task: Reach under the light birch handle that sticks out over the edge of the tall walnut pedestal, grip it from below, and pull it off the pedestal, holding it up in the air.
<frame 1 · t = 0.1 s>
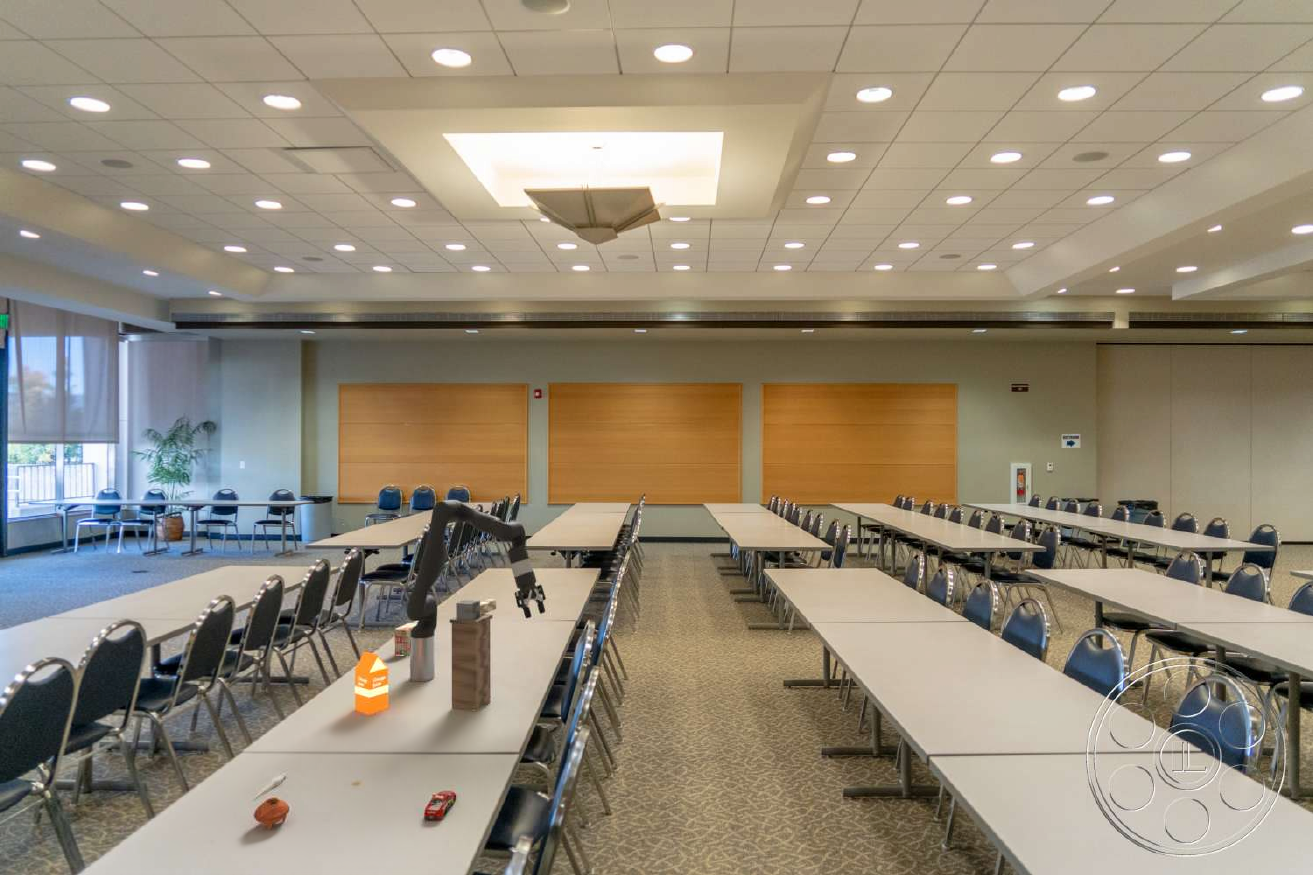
hand: (535, 615, 283), 31 cm above the table, tool tilted 20°, fingers open, 8 cm apart
pedestal: (471, 705, 277), on the table
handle: (471, 617, 277), point 32 cm above the table, touching pedestal
orange juice: (371, 709, 273), on the table
pot: (271, 825, 191), on the table
race car: (440, 810, 199), on the table
white tapered stick: (270, 789, 211), on the table
red printed box: (413, 650, 351), on the table
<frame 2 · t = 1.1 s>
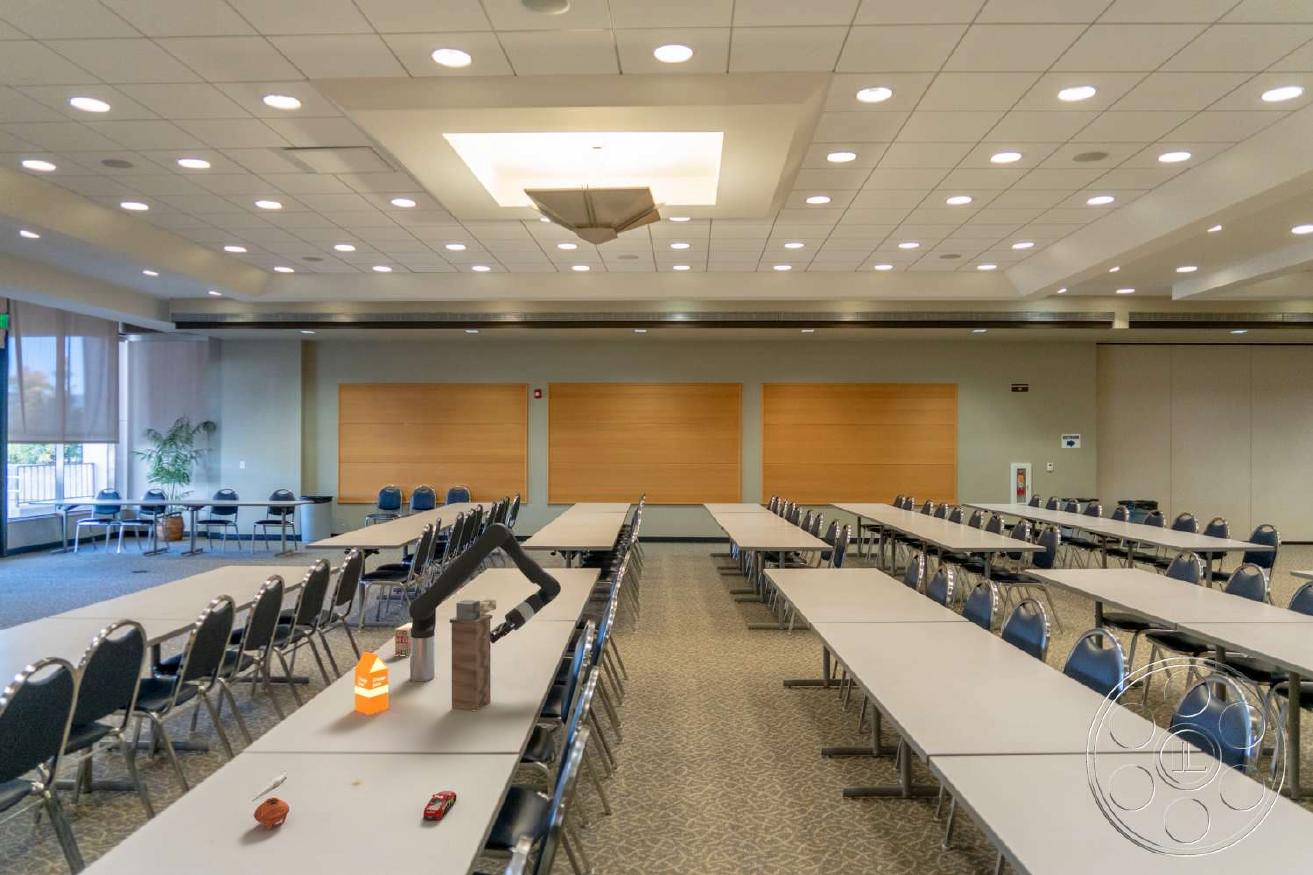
hand: (487, 642, 290), 19 cm above the table, tool tilted 60°, fingers open, 8 cm apart
nothing on the table moved.
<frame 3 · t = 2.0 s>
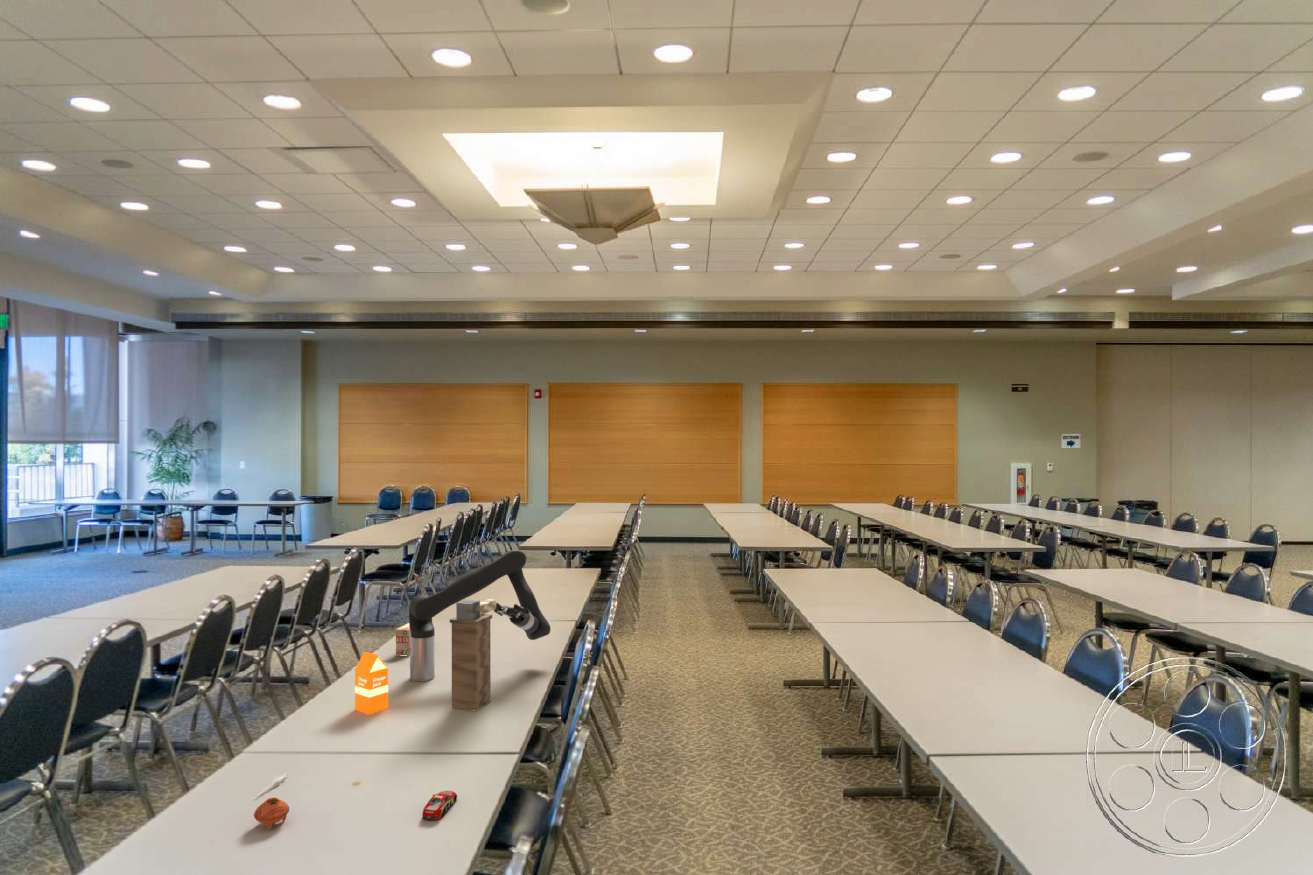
hand: (505, 605, 301), 31 cm above the table, tool pointing upward, fingers open, 8 cm apart
nothing on the table moved.
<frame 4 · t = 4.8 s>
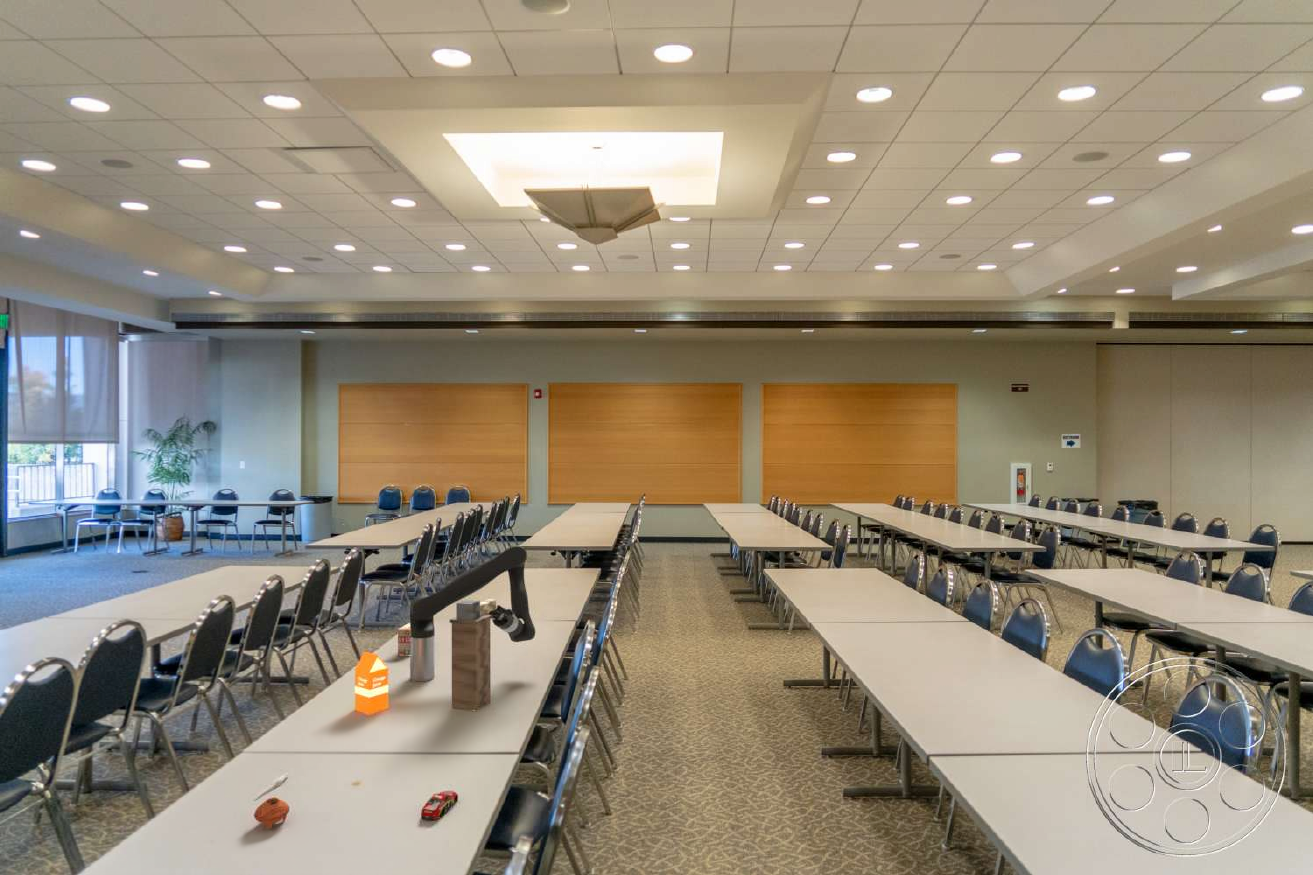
hand: (487, 606, 288), 33 cm above the table, tool pointing upward, fingers open, 8 cm apart
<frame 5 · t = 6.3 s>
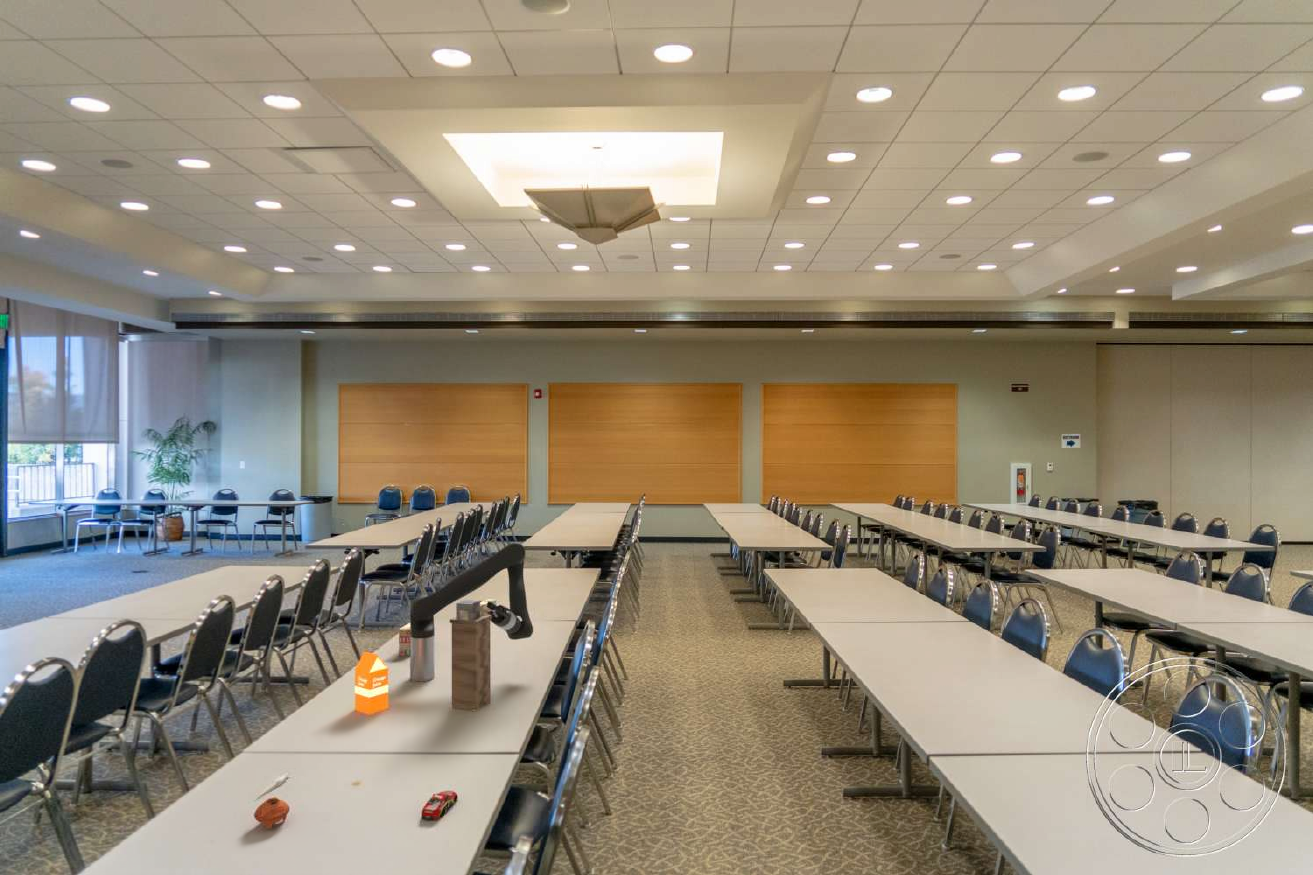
hand: (483, 603, 285), 35 cm above the table, tool pointing upward, fingers closed on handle, 3 cm apart
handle: (471, 617, 277), point 32 cm above the table, touching gripper
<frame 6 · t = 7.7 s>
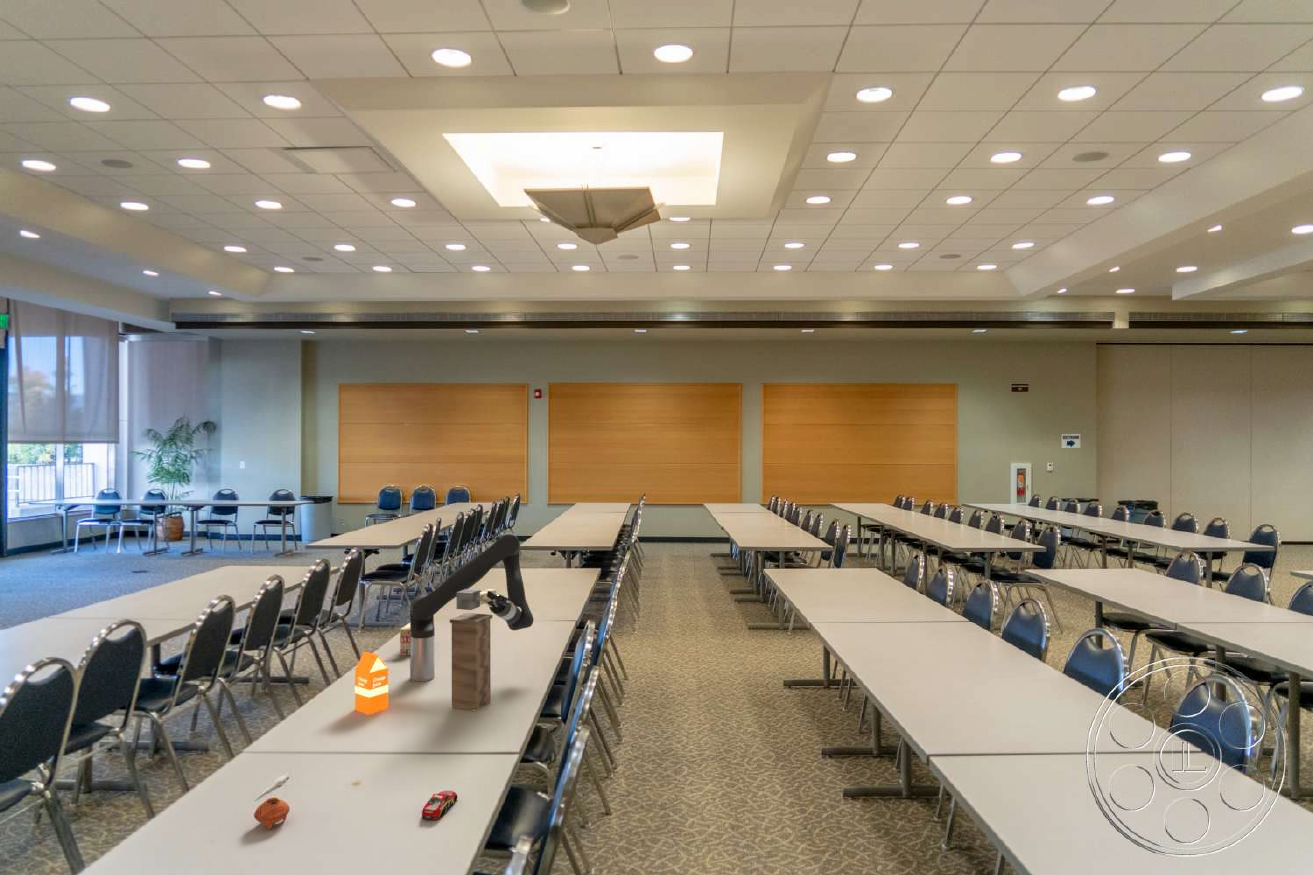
hand: (483, 593, 285), 39 cm above the table, tool pointing upward, fingers closed on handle, 3 cm apart
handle: (471, 606, 277), point 36 cm above the table, touching gripper
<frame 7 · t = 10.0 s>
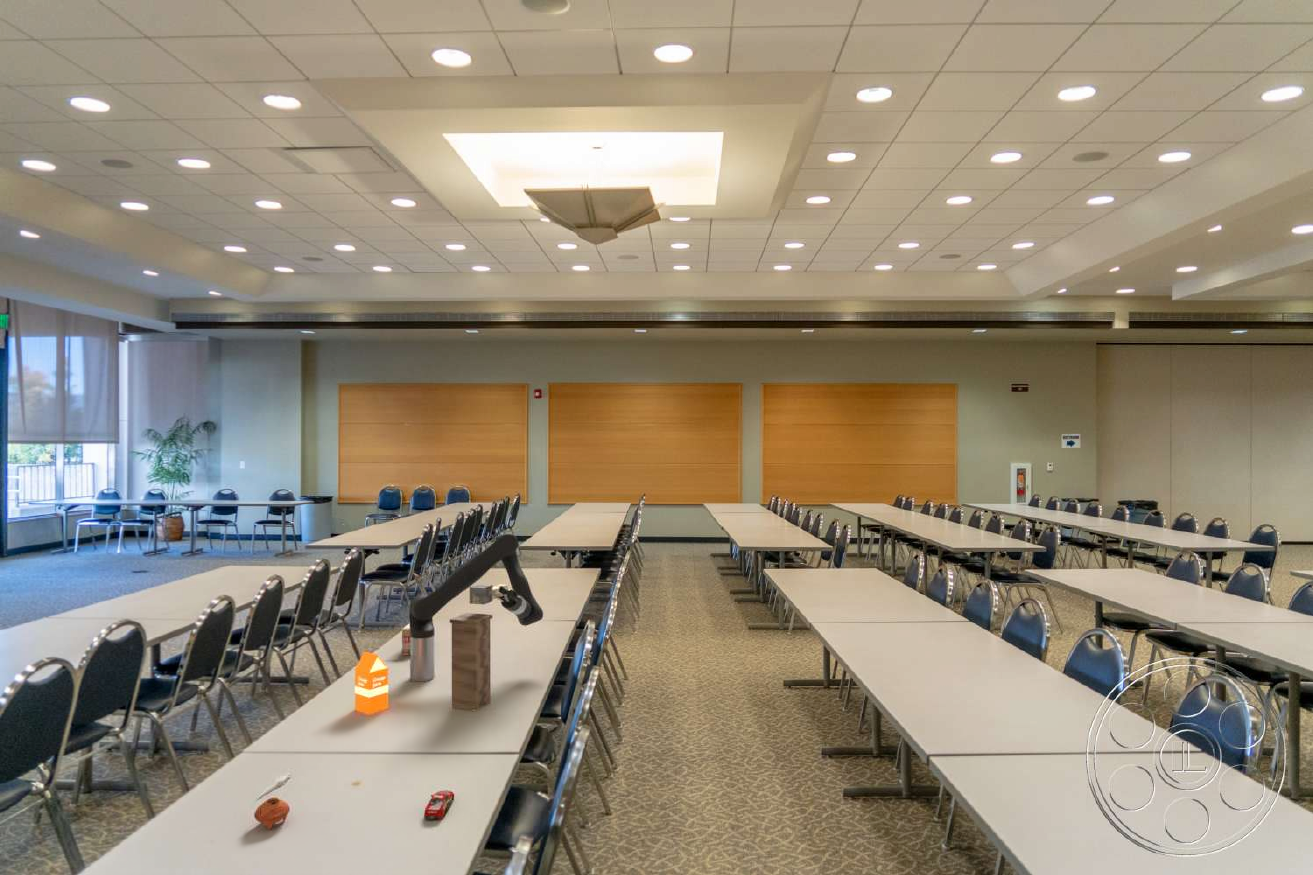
hand: (495, 588, 294), 39 cm above the table, tool pointing upward, fingers closed on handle, 3 cm apart
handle: (483, 601, 286), point 36 cm above the table, touching gripper
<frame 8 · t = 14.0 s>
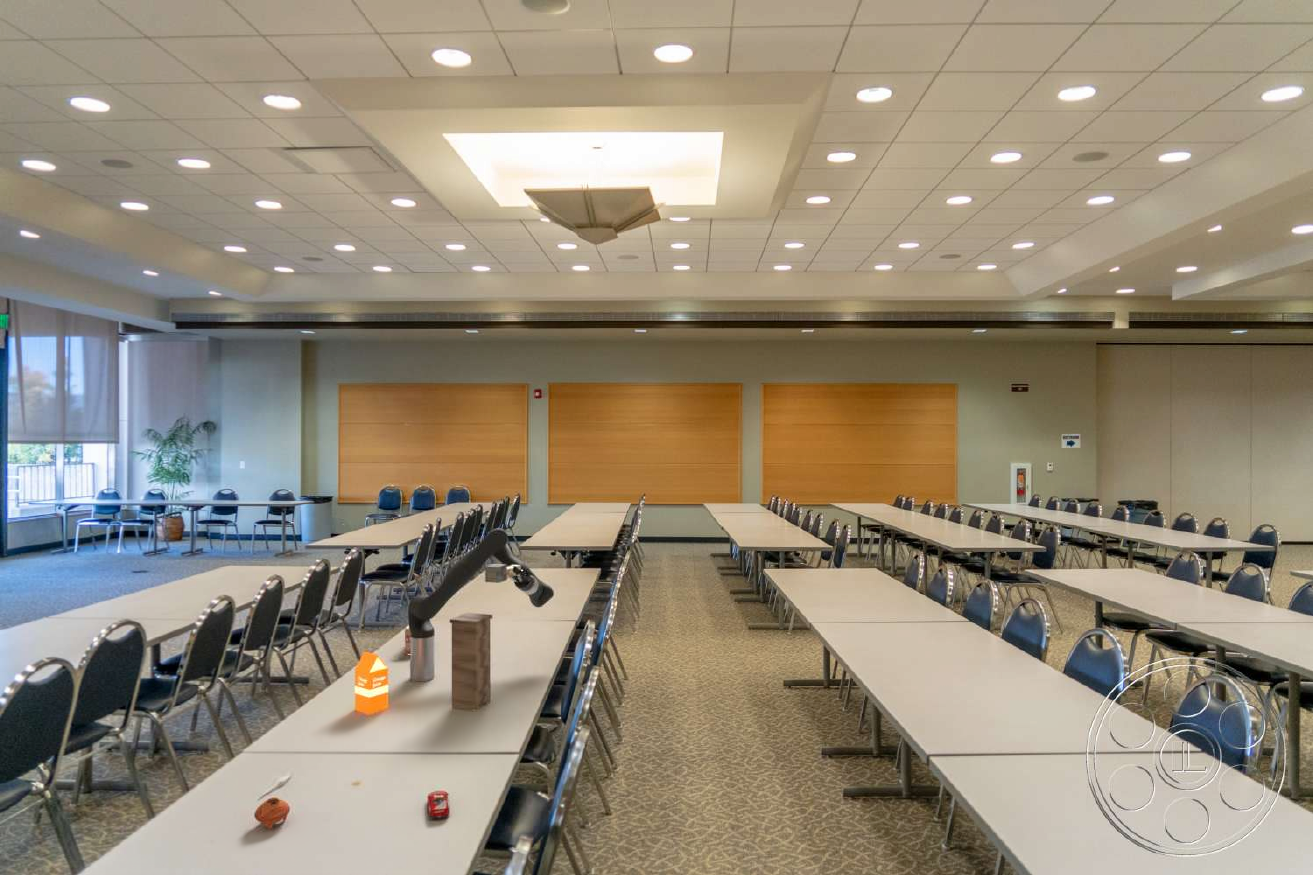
hand: (509, 568, 304), 45 cm above the table, tool pointing upward, fingers closed on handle, 3 cm apart
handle: (498, 579, 296), point 42 cm above the table, touching gripper
at the end: the gripper is holding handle; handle touching gripper; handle moved 22.3 cm from its start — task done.
